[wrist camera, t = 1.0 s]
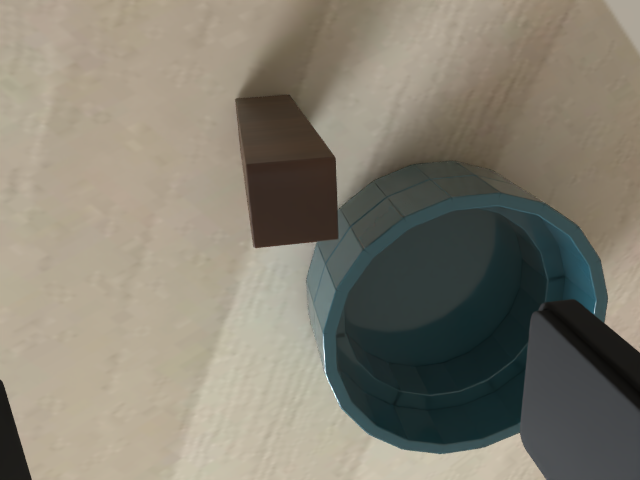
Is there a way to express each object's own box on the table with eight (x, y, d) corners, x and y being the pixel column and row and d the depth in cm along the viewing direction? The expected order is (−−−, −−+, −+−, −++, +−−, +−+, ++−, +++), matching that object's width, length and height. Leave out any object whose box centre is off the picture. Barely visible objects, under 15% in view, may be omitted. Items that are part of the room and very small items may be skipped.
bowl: (297, 170, 29) (316, 210, 23) (553, 148, 31) (626, 180, 25) (312, 395, 34) (330, 472, 28) (531, 365, 36) (588, 432, 30)
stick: (235, 98, 27) (245, 164, 16) (289, 94, 28) (335, 156, 17) (240, 152, 28) (253, 249, 17) (293, 147, 29) (339, 240, 18)
